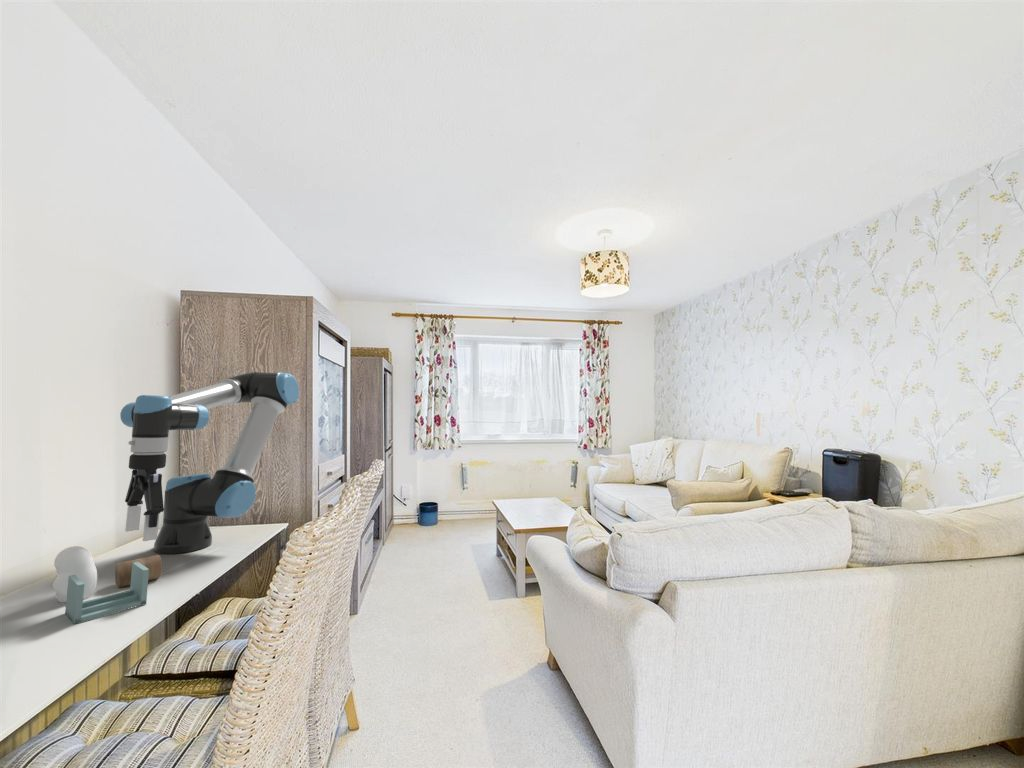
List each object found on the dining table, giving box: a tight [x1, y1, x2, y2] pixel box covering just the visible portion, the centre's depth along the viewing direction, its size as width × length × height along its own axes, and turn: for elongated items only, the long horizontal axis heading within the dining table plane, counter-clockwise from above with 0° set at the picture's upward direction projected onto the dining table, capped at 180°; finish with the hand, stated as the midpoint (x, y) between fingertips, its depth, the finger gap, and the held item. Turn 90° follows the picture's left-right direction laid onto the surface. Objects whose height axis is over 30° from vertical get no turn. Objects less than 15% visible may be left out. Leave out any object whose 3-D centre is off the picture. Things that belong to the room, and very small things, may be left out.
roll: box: [114, 554, 163, 589], centre depth 113 cm, size 8×6×6 cm
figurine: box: [52, 546, 98, 603], centre depth 104 cm, size 7×8×12 cm
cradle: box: [64, 562, 149, 625], centre depth 99 cm, size 12×8×8 cm, turn 146°
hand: (140, 535), depth 114 cm, fingers open, 13 cm apart
